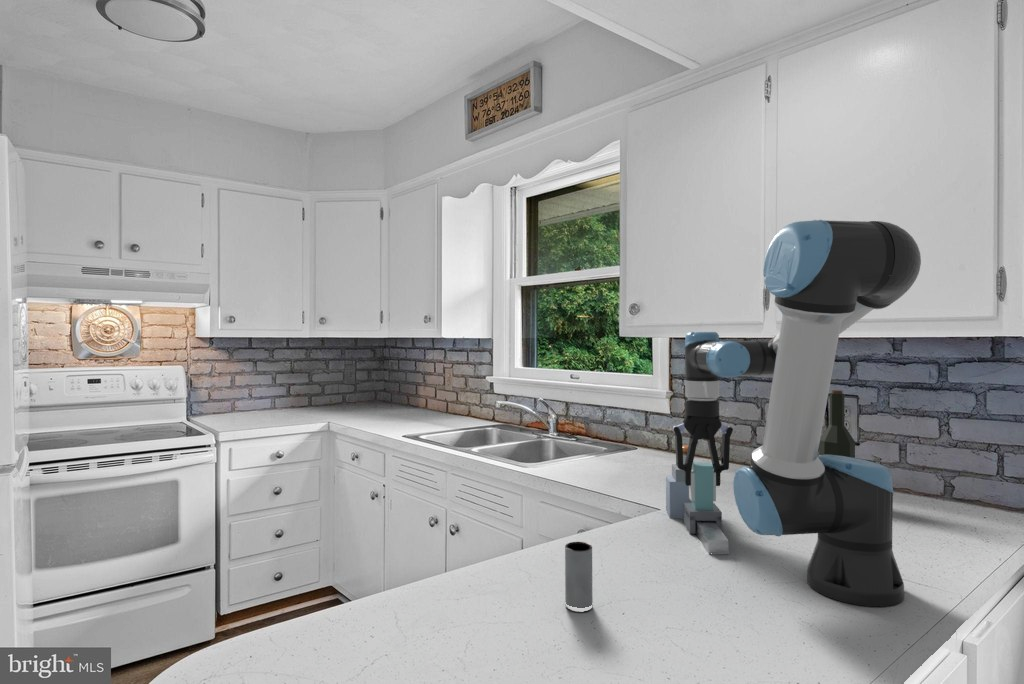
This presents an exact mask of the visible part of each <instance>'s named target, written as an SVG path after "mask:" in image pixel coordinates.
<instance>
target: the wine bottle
mask: <svg viewBox="0 0 1024 684" xmlns="http://www.w3.org/2000/svg"><path fill="white" fill-rule="evenodd" d="M843 392H844V391H843V390H842V389H832V390H831V392H830V393H829V425H827V428H826V429H825V431H824V432H823V434H821V437H820V443H819V448H818V451H819V452H818V454H819V456H820V455H838V456H845V457H851V458H856V441H855V439H854V438H853V437H852V434H851V433H850V432H849V430H848V428H847V427H846V426H845V393H843ZM819 456H818V457H819Z"/></svg>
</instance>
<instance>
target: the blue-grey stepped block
mask: <svg viewBox="0 0 1024 684" xmlns="http://www.w3.org/2000/svg"><path fill="white" fill-rule="evenodd" d="M684 503H692V501H691V500H690V498H689V486H686V484H685V473H684V470H681V469H679V468H678V467H677V466H676V463H673V464H672V463H671V475H665V504H666V505H665V511H667V512H666V513H667V515H668V517H669V519H684Z"/></svg>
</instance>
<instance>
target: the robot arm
mask: <svg viewBox="0 0 1024 684" xmlns="http://www.w3.org/2000/svg"><path fill="white" fill-rule="evenodd" d="M921 260H922V259H921V251H920V248H919V246H918V244H917V242H916V240H915V239H914V237H913V236H912V235H911V234H910V233H909V232H908V231H907V230H905V229H904V228H902V227H900V226H899V225H897V224H894V223H891V222H888V221H882V220H881V221H880V220H870V221H860V220H859V221H857V220H856V221H855V220H823V219H812V220H804V221H803V220H801V221H795V222H791V223H789V224H787V225H785V226H784V227H782V228H781V229H780V230H779V232H777V233H776V234H775V236H774V237H773V238H772V240H771V242H770V244H769V246H768V248H767V251H766V253H765V257H764V262H763V270H762V271H763V277H765V279H764V285H765V287H766V289H767V291H769V293H770V294H771V295H773V296H774V303H773V304H774V305H775V306H776V307H777V309H778V310H779V311H780V312H781V314H782V317H781V324H780V330H779V332H778V333H777V334H776V335H774V337H772V338H771V339H770V340H720V335H719V334H718V333H717V332H715V331H689V332H686V335H685V340H684V341H685V342H684V371H685V373H684V374H685V377H684V379H685V381H684V382H685V383H684V384H685V385H684V386H685V387H684V391H685V392H684V397H685V398H686V399H685V400H684V407H685V408H684V409H685V412H684V419H683V422H682V423H680V424H677V425H675V424H674V425H672V427H671V429H672V431H673V434H674V437H675V439H674V441H675V442H674V444H675V464H676V466H677V467H678V468H679V469H681V470H684V473H685V484H686V486H689V498H690V500H691V501H695V473H694V472H693V470H692V465H693V462H694V459H695V455H696V450H697V445H698V442H699V440H706V442H707V446H708V451H709V456H710V459H711V465H712V466H713V502H717V487H720V485H721V473H722V472H724V471H728V470H729V469H730V446H731V436H732V435H733V431H734V428H733V427H731V426H729V425H726V424H724V423H722V420H721V419H720V401H719V400H718V398H720V378H724V379H725V378H738V377H746V376H747V377H748V376H749V377H752V376H754V377H755V376H772V382H771V388H770V394H769V401H768V407H767V414H766V415H767V416H766V421H765V429H764V434H763V442H762V445H761V446H759V447H756V448H755V449H753V451H752V452H751V458H750V463H749V466H742V467H741V468H738V469H737V470H736V471H735V474H734V475H733V483H732V485H733V495H734V500H735V504H736V506H737V510H738V513H739V515H740V517H741V519H742V521H743V523H744V524H745V525H746V526H747V528H748V529H749V530H750V531H751V532H753V533H755V534H756V535H758V536H759V535H760V536H775V537H782V536H788V535H791V536H792V535H805V534H806V535H808V534H809V535H810V534H817V542H816V544H815V546H814V549H813V552H812V554H811V557H810V559H809V563H808V565H807V569H806V581H807V582H806V583H807V584H808V585H809V587H810V588H811V589H813V590H814V591H815V592H817V593H819V594H821V595H823V596H825V597H827V598H830V599H833V600H836V601H840V602H843V603H848V604H852V605H856V606H857V605H858V606H865V607H890V606H895V605H898V604H900V603H902V602H903V601H904V599H905V583H904V580H903V577H902V575H901V572H900V569H899V566H898V564H897V561H896V558H895V554H894V551H893V507H894V506H893V505H894V504H893V500H894V497H893V496H894V493H895V490H894V489H893V487H894V485H893V476H892V472H891V470H890V469H889V468H888V467H887V466H884V465H882V464H880V463H877V462H874V461H870V460H865V459H861V458H856V457H855V458H851V457H845V456H838V455H820V456H818V454H819V452H818V451H819V443H820V438H821V436H822V431H823V425H824V420H825V414H826V410H827V409H826V408H827V403H828V397H829V394H830V393H829V392H830V386H831V382H832V376H833V372H834V371H833V370H834V365H835V360H836V356H837V355H836V353H837V349H838V342H839V336H840V335H841V334H842V333H843V332H845V331H846V330H847V329H849V328H850V327H852V326H853V325H854V324H855V323H857V322H858V321H859V320H862V318H864V317H865V316H866V315H868V314H869V313H870V312H871V311H873V310H882V309H885V308H888V307H889V306H891V305H892V304H893V303H895V302H896V301H898V300H899V299H900V298H902V296H904V295H905V294H906V293H907V292H908V291H909V290H910V289H911V287H912V286H913V285H914V283H915V282H916V280H917V278H918V276H919V273H920V270H921V266H922V265H921V263H922V261H921ZM684 429H686V431H687V432H688V433H689V443H688V445H689V446H688V451H687V456H686V460H685V464H683V445H684V444H683V434H684ZM719 430H720V433H721V434H722V435H721V451H720V453H721V454H720V456H721V457H720V459H719V455H718V454H719V453H718V450H717V445H716V438H715V436H716V435H717V433H718V432H719Z"/></svg>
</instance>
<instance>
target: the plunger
mask: <svg viewBox="0 0 1024 684" xmlns="http://www.w3.org/2000/svg"><path fill="white" fill-rule="evenodd" d="M688 446H689V444H683V464H685V460H686V456H687V451H688Z"/></svg>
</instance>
